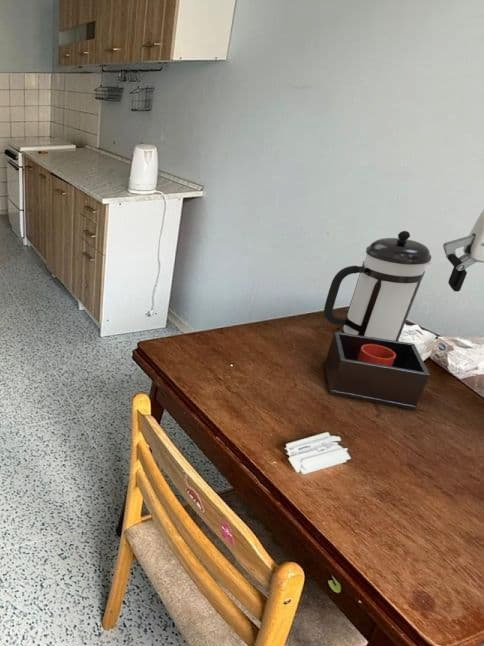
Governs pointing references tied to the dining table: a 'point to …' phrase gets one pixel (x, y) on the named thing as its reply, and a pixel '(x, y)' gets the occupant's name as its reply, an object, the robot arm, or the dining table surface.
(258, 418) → the dining table surface
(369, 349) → the cup
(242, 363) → the dining table surface
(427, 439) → the dining table surface
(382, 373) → the dark open box
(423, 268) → the coffee press
